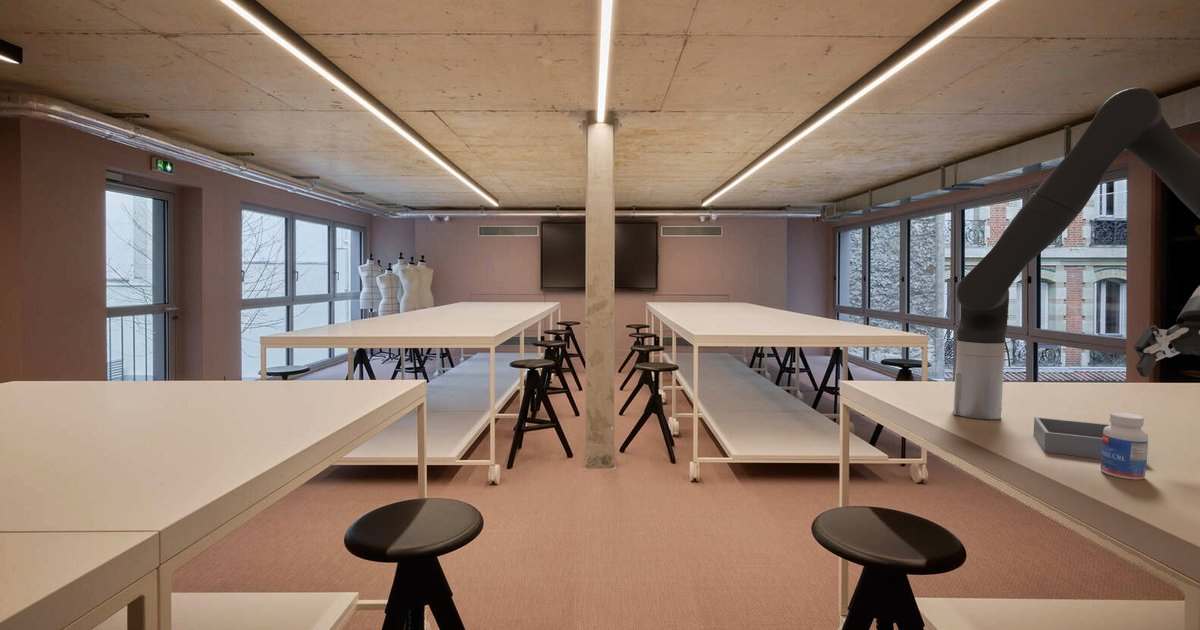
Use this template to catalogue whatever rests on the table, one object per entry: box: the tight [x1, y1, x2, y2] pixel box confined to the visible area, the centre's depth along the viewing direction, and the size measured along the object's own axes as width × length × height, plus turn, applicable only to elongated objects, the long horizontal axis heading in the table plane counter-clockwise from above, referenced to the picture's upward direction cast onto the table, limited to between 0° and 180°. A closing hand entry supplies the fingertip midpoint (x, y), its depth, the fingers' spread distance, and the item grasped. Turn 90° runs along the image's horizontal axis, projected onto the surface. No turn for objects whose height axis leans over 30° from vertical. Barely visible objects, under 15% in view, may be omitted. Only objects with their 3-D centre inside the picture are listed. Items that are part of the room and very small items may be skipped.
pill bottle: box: [1100, 412, 1149, 481], centre depth 94 cm, size 6×5×10 cm
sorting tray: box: [1033, 416, 1149, 466], centre depth 109 cm, size 14×14×4 cm
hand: (1172, 377), depth 97 cm, fingers open, 8 cm apart
